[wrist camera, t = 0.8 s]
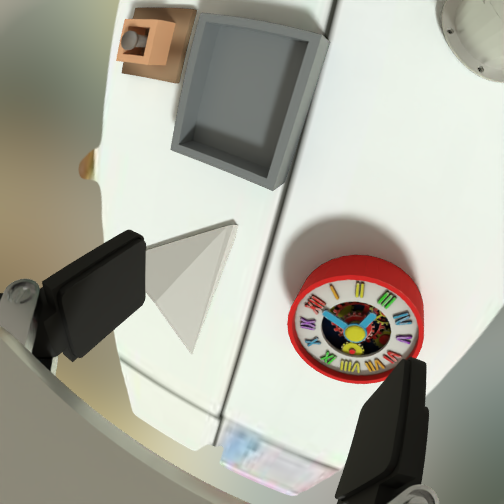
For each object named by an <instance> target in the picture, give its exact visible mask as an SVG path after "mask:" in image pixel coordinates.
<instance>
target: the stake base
mask: <svg viewBox="0 0 504 504" xmlns="http://www.w3.org/2000/svg"><path fill="white" fill-rule="evenodd" d="M196 13H197V10H195V9H183V8H135V12H134V16H133V19H154V20H163V21H168V22H173V23H176V24H175V28H174V32H173V36H172V40H171V44H170V49H169V53H168V57H167V62H166V65H145V64H138V63H130V62H124V63H123V68H122V73H124V74H130V75H136V76H141V77H147V78H152V79H157V80H162V81H167V82H171V83H179V82H180V77H181V73H182V68H183V64H184V59H185V55H186V51H187V47H188V43H189V39H190V35H191V31H192V27H193V24H194V20H195V16H196ZM149 30H150V28H146V32H145V35H138V34H137V33H136V32H135V31H127V32H126V33H124V35H123V36H122V39H121V46H122V48H123V49H125V50H132V49H133V48H135V47H142V50H141V55H144V52H145V48H146V43H147V39H148V34H149Z"/></svg>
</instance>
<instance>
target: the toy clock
mask: <svg viewBox="0 0 504 504" xmlns="http://www.w3.org/2000/svg"><path fill="white" fill-rule="evenodd" d="M287 325H288V334H289V337H290V340H291V343H292V344H293V346H294V348H295V350H296V352H297V353H298V354H299V355H300V357H301V358H302V359H303V360H304V361H305V362H306V363H307V364H308V365H309V366H311V367H312V368H313V369H315V370H316V371H318V372H320V373H321V374H323V375H325V376H327V377H330V378H332V379H335V380H339V381H342V382H347V383H355V384H369V383H377V382H381V381H384V380H385V379H386V378H387V377H388V376H389V374H390V373H391V372H392V371H393V369H394V368H395V367H396V366H397V364H398V363H399V362H400V361H401V360H402V359H406V360H407V359H408V358H409V357H413V358H417V356H418V354H419V352H420V350H421V348H422V343H423V339H424V310H423V301H422V297H421V294H420V292H419V290H418V288H417V286H416V284H415V283H414V282H413V280H412V279H411V278H410V276H409V275H407V274H406V273H405V272H404V271H403V270H402V269H401V268H399V267H397V266H396V265H394V264H392V263H391V262H388V261H386V260H383V259H381V258H377V257H372V256H368V255H350V256H342V257H339V258H335V259H332V260H330V261H328V262H326V263H324V264H322V265H321V266H319V267H318V268H317V269H315V270H314V271H313V272H312V273H311V274H310V275H309V277H308V278H307V279H306V281H305V283H304V285H303V286H302V288H301V290H300V292H299V294H298V295H297V297H296V299H295V301H294V303H293V304H292V306H291V309H290V312H289V315H288V323H287Z"/></svg>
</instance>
